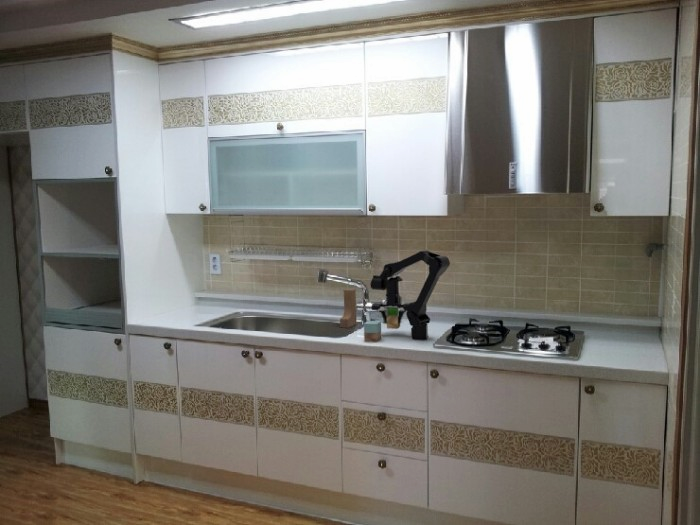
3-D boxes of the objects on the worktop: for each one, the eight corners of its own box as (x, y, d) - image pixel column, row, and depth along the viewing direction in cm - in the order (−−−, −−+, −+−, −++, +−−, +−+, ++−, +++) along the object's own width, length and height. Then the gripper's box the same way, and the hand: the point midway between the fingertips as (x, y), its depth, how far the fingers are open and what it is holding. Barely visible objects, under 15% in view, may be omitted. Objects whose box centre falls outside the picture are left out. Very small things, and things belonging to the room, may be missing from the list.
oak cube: (400, 326, 283) (399, 315, 282) (397, 328, 278) (397, 317, 277) (389, 326, 284) (389, 315, 284) (386, 328, 279) (386, 317, 279)
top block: (381, 330, 274) (380, 321, 274) (377, 333, 269) (377, 324, 268) (368, 329, 276) (368, 320, 276) (364, 332, 271) (363, 323, 270)
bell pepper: (378, 322, 312) (377, 302, 311) (389, 319, 317) (389, 300, 316) (390, 324, 306) (389, 304, 305) (401, 321, 311) (401, 302, 310)
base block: (381, 339, 275) (380, 330, 275) (377, 342, 269) (377, 333, 269) (368, 338, 277) (367, 329, 276) (364, 341, 271) (364, 332, 271)
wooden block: (347, 328, 301) (346, 291, 299) (339, 327, 303) (338, 291, 301) (357, 324, 308) (355, 288, 307) (349, 324, 311) (347, 288, 309)
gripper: (416, 288, 284) (417, 322, 286) (377, 288, 290) (378, 321, 291) (411, 292, 274) (412, 327, 275) (370, 291, 279) (371, 326, 281)
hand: (393, 325), depth 281 cm, fingers closed on oak cube, 5 cm apart
